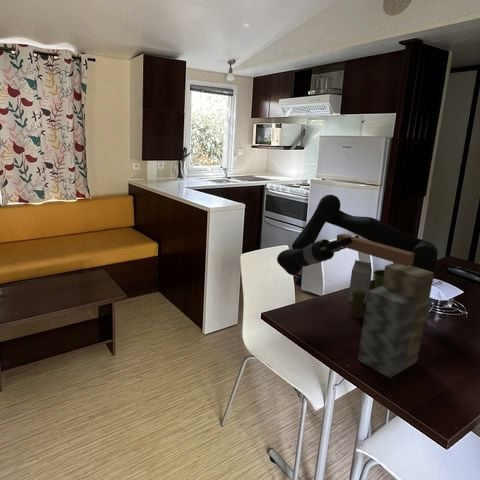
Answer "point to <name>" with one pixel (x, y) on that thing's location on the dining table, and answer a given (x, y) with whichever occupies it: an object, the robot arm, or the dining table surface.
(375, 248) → the block
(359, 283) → the milk carton
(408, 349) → the stepped stand
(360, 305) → the olive cylinder
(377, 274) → the plant pot
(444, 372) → the dining table surface
